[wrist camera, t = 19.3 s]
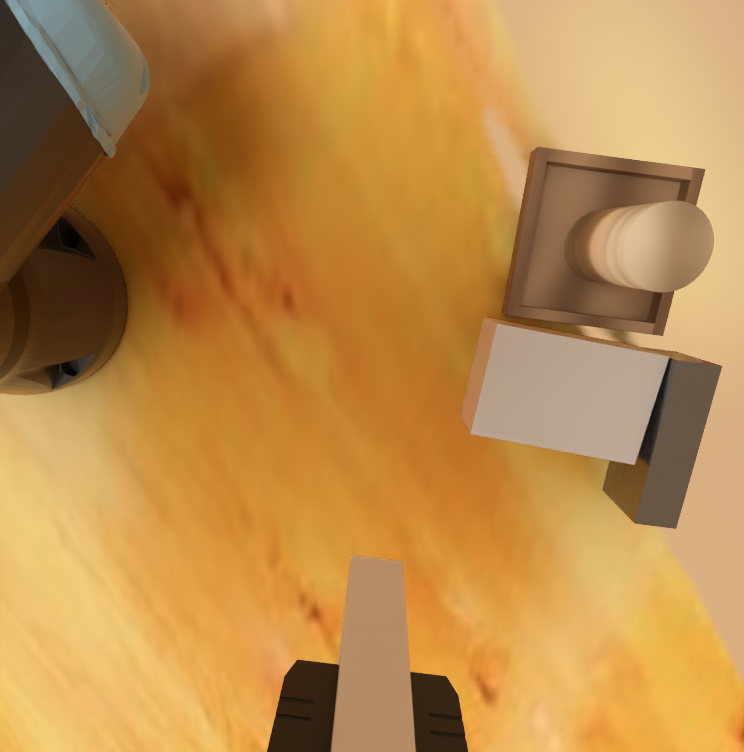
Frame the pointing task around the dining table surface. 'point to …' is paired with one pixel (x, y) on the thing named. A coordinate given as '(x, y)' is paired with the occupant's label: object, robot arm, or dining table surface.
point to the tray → (557, 216)
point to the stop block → (666, 444)
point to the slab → (561, 390)
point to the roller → (641, 245)
